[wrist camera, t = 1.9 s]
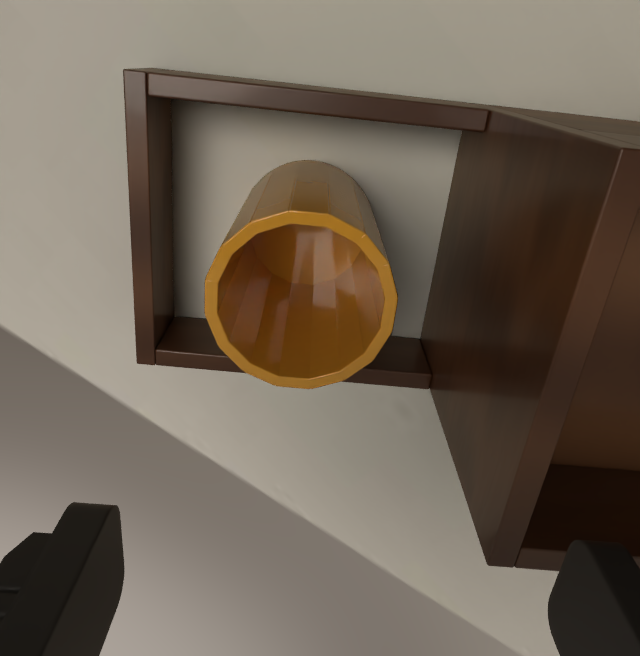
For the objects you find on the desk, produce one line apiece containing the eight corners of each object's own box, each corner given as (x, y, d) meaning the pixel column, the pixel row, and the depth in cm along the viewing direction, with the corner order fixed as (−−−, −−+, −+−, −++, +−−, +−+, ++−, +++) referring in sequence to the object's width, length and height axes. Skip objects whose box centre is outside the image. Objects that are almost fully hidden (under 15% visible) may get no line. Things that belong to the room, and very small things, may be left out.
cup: (245, 153, 24) (205, 201, 16) (381, 167, 24) (411, 222, 16) (240, 280, 26) (203, 380, 18) (363, 292, 26) (381, 395, 18)
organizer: (151, 67, 22) (-41, 75, 11) (718, 130, 23) (1125, 201, 11) (158, 329, 27) (33, 531, 15) (625, 371, 28) (841, 593, 16)
